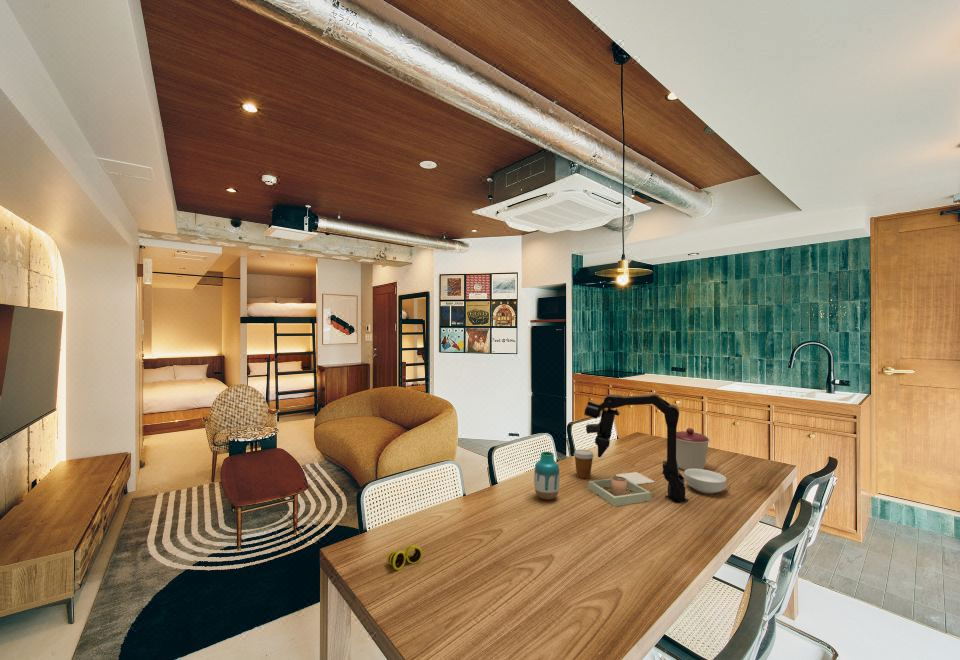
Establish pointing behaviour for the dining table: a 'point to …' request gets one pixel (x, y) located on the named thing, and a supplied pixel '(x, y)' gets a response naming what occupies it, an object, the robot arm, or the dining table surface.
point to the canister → (691, 449)
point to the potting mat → (636, 478)
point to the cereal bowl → (705, 480)
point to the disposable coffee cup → (583, 462)
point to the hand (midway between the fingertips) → (599, 453)
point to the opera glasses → (404, 557)
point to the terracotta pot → (618, 486)
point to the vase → (546, 477)
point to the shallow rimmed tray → (639, 495)
